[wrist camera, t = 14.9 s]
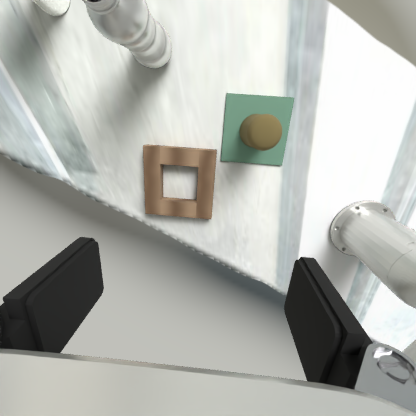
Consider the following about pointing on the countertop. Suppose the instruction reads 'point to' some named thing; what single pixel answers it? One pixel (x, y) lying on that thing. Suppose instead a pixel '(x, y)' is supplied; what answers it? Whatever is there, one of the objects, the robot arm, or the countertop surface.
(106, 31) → the plastic bottle
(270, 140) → the cork
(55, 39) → the countertop surface
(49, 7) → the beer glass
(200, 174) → the socket
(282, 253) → the countertop surface
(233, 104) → the mat
